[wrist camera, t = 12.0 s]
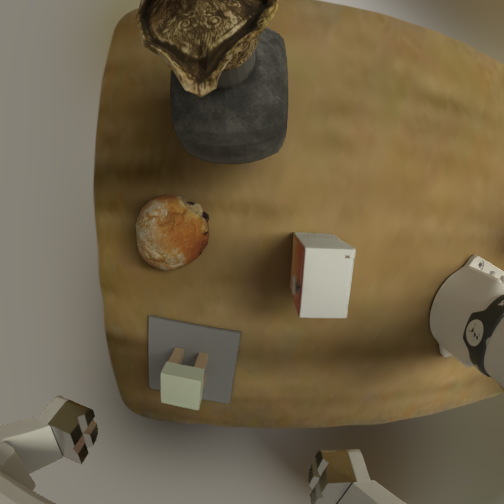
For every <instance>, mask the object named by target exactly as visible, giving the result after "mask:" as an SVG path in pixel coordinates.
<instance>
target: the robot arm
mask: <svg viewBox="0 0 504 504" xmlns="http://www.w3.org/2000/svg"><path fill="white" fill-rule="evenodd" d="M479 263H480V264H479ZM430 329H431V332H432V335H433V336H434V338H435V339H436V340H437V342H438V343H439V348H440V353H441V355H443V356H444V357H450V356H453V357H454V358H456V359H457V360H458V361H459V362H461V363H462V364H463V365H465V366H466V367H471V366H475V367H476V368H477V369H478V370H479V371H480V372H481V373H483V374H485V375H486V376H488V377H492V378H493V379H494V380H495V381H496V382H497V383H498V384H499V385H500V386H501V387H502V388H503V389H504V271H502V270H501V269H499V268H497V267H496V266H494V265H493V264H491V263H489V262H488V261H486V260H484V259H483V258H481V257H479V256H478V255H473V256H471V257H470V259H469V260H468V261H467V263H466V264H465V265H464V266H463V267H462V268H461V269H459V270H458V271H456V272H455V273H453V274H452V275H451V276H450V277H449V278H448V279H447V280H446V281H445V282H444V283H443V285H442V286H441V288H440V289H439V291H438V293H437V295H436V297H435V299H434V301H433V304H432V308H431V312H430ZM94 417H95V415H94V412H93V410H92V409H90V408H87V407H85V406H82V405H80V404H78V403H75V402H73V401H71V400H68V399H66V398H64V397H62V396H57V397H55V398H54V399H53V400H52V401H51V403H50V404H49V405H48V406H47V407H46V408H45V409H44V410H43V412H42V413H41V414H40V415H39V416H38V417H37V418H35V417H32V418H29V419H25V420H21V421H18V422H14V423H10V424H6V425H2V426H0V504H55V503H53V502H52V501H50V500H48V499H46V498H44V497H43V496H41V495H39V494H37V493H36V492H34V491H33V489H34V488H35V483H34V481H33V480H32V478H31V477H30V475H29V474H30V473H32V472H34V471H36V470H38V469H40V468H42V467H45V466H47V465H49V464H51V463H53V462H55V461H57V460H59V459H61V458H62V457H63V456H64V457H66V458H68V459H70V460H73V461H75V462H77V463H80V464H82V463H83V461H84V460H85V458H86V456H87V455H88V449H87V448H88V447H90V446H93V445H94V443H95V441H96V438H97V435H98V428H97V424H96V423H95V422H94V420H93V418H94ZM315 458H316V461H315V462H314V463H312V464H311V466H310V469H309V474H308V483H309V486H310V487H311V488H312V489H313V490H312V492H311V494H310V499H311V504H406V503H404V502H403V501H402V500H400V499H399V498H397V497H396V496H394V495H393V494H392V493H390V492H389V491H388V490H386V489H385V488H384V487H382V486H381V485H380V484H378V483H377V482H376V481H374V480H373V481H371V480H370V477H369V474H368V472H367V468H366V465H365V463H364V460H363V457H362V454H361V451H360V450H359V449H353V450H319V451H318V452H317V454H316V456H315Z"/></svg>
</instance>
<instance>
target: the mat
mask: <svg viewBox="0 0 504 504" xmlns="http://www.w3.org/2000/svg"><path fill="white" fill-rule="evenodd" d="M240 335H241V332H240V331H234V330H228V329H222V328H216V327H210V326H204V325H198V324H193V323H188V322H182V321H177V320H172V319H167V318H162V317H157V316H153V315H150V316H149V330H148V358H149V388H152V389H156V390H161V371H162V369H163V367H164V365H165V363H166V362H168V361H169V359H170V357H171V355H172V353H173V351H174V349H175V347H176V348H181V349H184V357H183V359H182V362H181V365H186V366H192V367H194V366H195V363H196V360H197V357H198V355H199V352H202V353H208V362H207V365H206V369H205V372H204V373H207V374H206V381H205V385H204V389H203V394H202V399H203V400H209V401H214V402H220V403H227V404H230V398H231V392H232V386H233V379H234V373H235V367H236V360H237V354H238V348H239V341H240Z"/></svg>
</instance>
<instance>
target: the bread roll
mask: <svg viewBox="0 0 504 504" xmlns="http://www.w3.org/2000/svg"><path fill="white" fill-rule="evenodd" d="M208 220H209V215H208V214H207V213H205V212H203V209H202V207H201V205H200V204H198V203H196V204H195V203H194V202H187V201H186V200H185V199H184V198H182V197H181V196H179V195H174V194H170V195H162V196H158V197H156V198H154V199H152V200H150V201H149V202H147V203H146V204H145V205H144V206H143V207H142V209H141V211H140V213H139V216H138V218H137V221H136V224H135V227H136V233H137V235H136V240H137V247H138V251H139V253H140V255H141V257H142V258H143V259H144V260H145V261H146V262H147V263H148V264H150V265H151V266H153V267H156V268H158V269H161V270H174V269H177V268H180V267H182V266H184V265H187V264H189V263H190V262H192V261H193V260H195V259H196V258H197V257H198V256H199V255H200V254H201V253H202V252H203V250H204V249H205V247H206V246H207V243H208V238H209V224H208Z"/></svg>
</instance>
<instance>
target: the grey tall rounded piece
mask: <svg viewBox="0 0 504 504" xmlns="http://www.w3.org/2000/svg"><path fill="white" fill-rule="evenodd" d="M278 5H279V0H141V2H140V6H139V11H138V14H137V16H136V19H135V22H136V25H137V27H138V31H139V34H140V38H141V41H142V45H143V46H144V47H146V48H147V49H149V50H151V51H152V52H154V53H155V54H157V55H158V56H160V57H161V58H162V59H163V60H164V61H165V62H166V63H167V65H168V66H169V67H170V68H171V82H170V98H171V113H172V121H173V126H174V129H175V132H176V134H177V136H178V138H179V140H180V142H181V144H182V146H183V147H184V148H185V150H186V151H187V152H188V153H189V154H190V155H192V156H194V157H197V158H199V159H202V160H205V161H210V162H214V163H222V164H241V163H250V162H254V161H257V160H261V159H264V158H266V157H268V156H271V155H273V154H275V153H277V152H278V151H279V150H280V149H281V147H282V145H283V143H284V140H285V137H286V130H287V118H288V70H287V58H286V49H285V43H284V39H283V38H282V37H281V36H280V34H278V33H277V32H275V31H273V30H271V29H269V28H266V26H267V24H268V23H269V22H270V21H271V20H272V19H273V17H274V16H275V14H276V12H277V9H278Z"/></svg>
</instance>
